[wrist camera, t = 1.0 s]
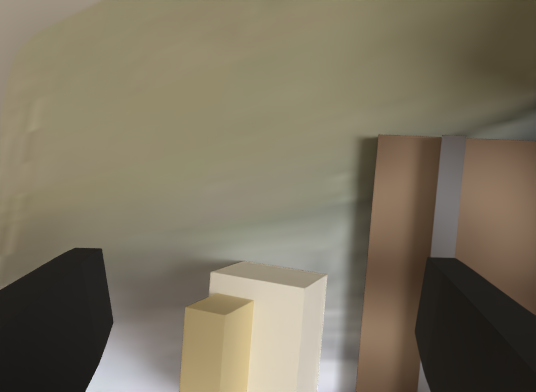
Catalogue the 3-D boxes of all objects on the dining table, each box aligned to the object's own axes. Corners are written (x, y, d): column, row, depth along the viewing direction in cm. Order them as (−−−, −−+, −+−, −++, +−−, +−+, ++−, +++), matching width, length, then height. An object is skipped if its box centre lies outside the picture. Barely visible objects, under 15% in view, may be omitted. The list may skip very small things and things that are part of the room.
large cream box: (315, 417, 26) (266, 493, 20) (234, 394, 28) (165, 456, 22) (328, 274, 26) (281, 302, 19) (244, 260, 28) (177, 283, 21)
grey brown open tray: (632, 497, 21) (673, 575, 16) (356, 421, 25) (334, 467, 21) (674, 149, 20) (729, 139, 16) (381, 136, 24) (364, 126, 20)
